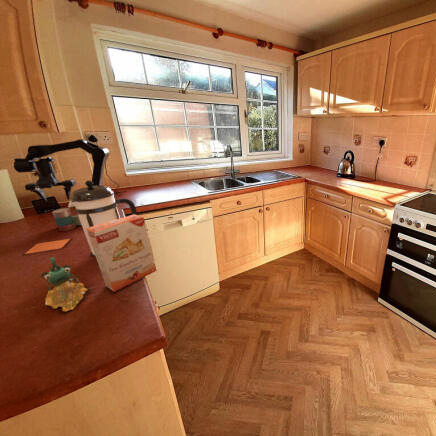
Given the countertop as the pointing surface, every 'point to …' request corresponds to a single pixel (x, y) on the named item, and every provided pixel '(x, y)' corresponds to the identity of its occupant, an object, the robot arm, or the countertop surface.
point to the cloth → (48, 246)
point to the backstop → (76, 220)
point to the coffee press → (96, 206)
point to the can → (64, 219)
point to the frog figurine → (63, 288)
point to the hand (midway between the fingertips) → (57, 200)
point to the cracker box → (122, 251)
